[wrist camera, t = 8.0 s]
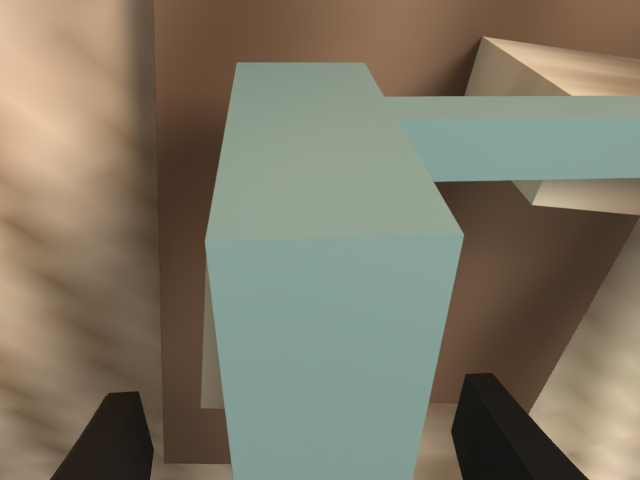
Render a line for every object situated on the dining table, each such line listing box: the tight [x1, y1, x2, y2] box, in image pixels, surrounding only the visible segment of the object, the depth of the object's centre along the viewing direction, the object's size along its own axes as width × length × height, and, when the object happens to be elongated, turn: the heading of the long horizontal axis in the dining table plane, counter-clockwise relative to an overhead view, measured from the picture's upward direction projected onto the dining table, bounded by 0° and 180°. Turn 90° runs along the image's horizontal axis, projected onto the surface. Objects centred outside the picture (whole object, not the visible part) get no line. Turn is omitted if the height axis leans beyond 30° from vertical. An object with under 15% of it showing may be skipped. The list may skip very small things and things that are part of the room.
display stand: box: [153, 0, 640, 480], centre depth 15 cm, size 14×19×6 cm
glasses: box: [205, 62, 640, 480], centre depth 11 cm, size 10×14×6 cm
